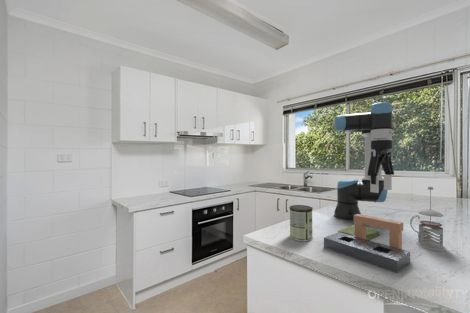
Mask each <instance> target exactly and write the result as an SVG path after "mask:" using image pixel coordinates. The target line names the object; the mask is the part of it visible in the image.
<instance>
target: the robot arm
mask: <svg viewBox="0 0 470 313" xmlns="http://www.w3.org/2000/svg"><path fill="white" fill-rule="evenodd" d="M334 129H335V131H337V132H340V131H341V132H343V131H345V132H352V133H361V135H362V137H364V176H363V177H362V178H361V181H359V179H357V178H355V179H354V178H353V179H352V178H350V179H342V180H339V181H337V186H336V189H337V190H336V191H337V195H336V196H337V197H336V198H337V200H336V202H337V204H336V207H335V209H334V212H333V213H334V217H335V218H338V219H343V220H353V221H354V215H356V214H361V215H362V212H361V210H360V208H359V202H369V203H384V202H386V201H387V200H386V199H387V195H388V191H392V187H393V186H392V182H393V179H392V176H394V175H395V172H394V167H393V161H392V153H391V151H388V150H392V149H393V141H392V138H393V134H394V131H393V104H392V103H391V102H389V101H380V102H375V103H373V104H371V106H370V112H362V113H361V112H359V113H357V112H356V113H351V114H340V115H336V116H335V117H334ZM382 169H383V172H384V174H383V176H382Z"/></svg>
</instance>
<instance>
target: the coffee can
mask: <svg viewBox="0 0 470 313" xmlns="http://www.w3.org/2000/svg"><path fill="white" fill-rule="evenodd" d="M313 209H314V208H313V207H312V206H309V205H306V204H293V205H290V206H289V237H290V239H292V240H294V241H299V242H310V241H312V240H313V239H314V238H313Z"/></svg>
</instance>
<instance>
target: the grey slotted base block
mask: <svg viewBox="0 0 470 313" xmlns="http://www.w3.org/2000/svg"><path fill="white" fill-rule="evenodd" d="M337 232H338V231H337ZM337 232H335V233H333V234H330V235H327V236H325V237H323V248H324V249H327V250H331V251H334V252H337V253H338V254H342V255H344V256H348V257H350V258H352V259H353V258H354V259H356V260H360V262H361V261H362V262H364V263H367V264H371V265H374V266H376V267H378V268H381V269H385V270H387V271H390V272H393V273H396V274H398V273H399V272H400V271H402V270H403V269H404V268H406V267H407V266H408V265H410V263H411V251H410V250H406V249H403V248H402V249H399V248H396V247H392V246H389V245H388V244H384V243H381V242H377V241H373V240H371V239H369V240H367V239H363V238H359V237H356V236H352V235H348V234H345V233H341V232H338V233H337Z"/></svg>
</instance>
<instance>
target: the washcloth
mask: <svg viewBox="0 0 470 313" xmlns="http://www.w3.org/2000/svg"><path fill="white" fill-rule="evenodd" d="M338 232H341V233H345V234H348V235H352V236H355V223H354V224H352V225H349V226H347V227H344V228H341V229H339V230H337V232H336V233H338ZM380 234H381V231H380V230H379V229H377V228H373V227H371V226H370V227H369V226H366V239H367V240H371V239H373V238H375V237H377V236H378V237H379V235H380Z"/></svg>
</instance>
